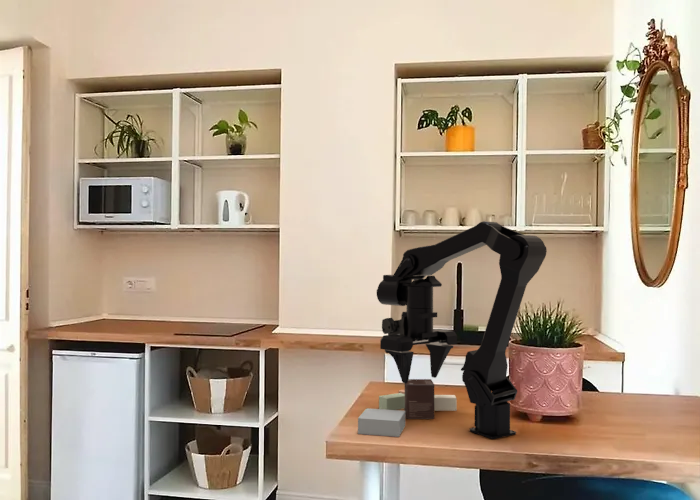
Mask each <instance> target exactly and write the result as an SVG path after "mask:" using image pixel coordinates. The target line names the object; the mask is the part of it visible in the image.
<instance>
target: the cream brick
mask: <svg viewBox="0 0 700 500" xmlns="http://www.w3.org/2000/svg"><path fill="white" fill-rule="evenodd" d="M457 400H458V399H457V397H456V395H455V394H434V412H435V411H438V412H439V411H442V412H446V411H447V412H448V411H449V412H450V411H451V412H452V411H453V412H454V411H455V412H457V410H458V409H457V407H458V406H457V403H458V402H457Z"/></svg>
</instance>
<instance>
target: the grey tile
mask: <svg viewBox="0 0 700 500" xmlns="http://www.w3.org/2000/svg"><path fill="white" fill-rule="evenodd" d="M405 427H406V415H405V410H401V409H399V410H385V409H379V408H368V407H367V408H366V409H364V411H363V412H362V413H361V414H360V415H359V416H358V418H357V434H358V435H368V436H369V435H370V436H382V437H394V438H395V437H396V438H400V436H401V434H402V433H403V430H404V429H405Z"/></svg>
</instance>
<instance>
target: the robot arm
mask: <svg viewBox="0 0 700 500" xmlns="http://www.w3.org/2000/svg"><path fill="white" fill-rule="evenodd" d="M484 246H487V247H488V248H489V249H490V250H492V251H493V252H495V253H496V254H499V260H498V261H499V262H498V265H499V272H500V276H501V278H500V282H499V285H498V288H497V292H496V295H495V297H494V301H493V305H492V308H491V311H490V314H489V318H488V321H487V323H486V327H485V330H484V334H483V337H482V339H481V343H480V345H479V347H478V349H475V350H469V351H467V352H466V355H465V357H464V358H465V359H464V363H463V366H461V369H460V371H462V375H461V379H462V382H463V384H464V386H465V388H466V392H467V396H468V399H469V403H471V404H475V405H474V427H471V428H469V432H471V433H474V434H476V435H479V436H482V437H485V438H488V439H490V440H496V439H499V438H504V437H509V436H515V435H516V434H517V431H515V430H512V429H511V403H510V402H509V401H515V399H516V398H517V397H516V396H517V393H518V389H517V388H516V386H515V384H513V383H512V381H510V379H509V378H508V376H507V373H508V372H507V371H508V362H507V354H506V352H507V347H508V344H509V341H510V338H511V335H512V333H513V328H514V326H515V323H516V319H517V316H518V313H519V310H520V307H521V304H522V300H523V297H524V295H525V292H526V288H527V286H528V285H529V284H528V283H530V281H531V280H532V279H533V278H534V276H535V275H536V274H537V273H538V272H539V270H540V268H541V266H542V265H543V262H544V261H545V258H546V255H547V253H548V252H547V250H548V249H547V246H546V245H545V243H544V240H542V239H541V237H539V236H536V235H531V234H529V235H527V234H523V233H521V232H519V231H515V230H513V229H510V228H508V227H505V226H504V225H501V224H500V223H498V222H496V221H486V220H485V221H480V222H479V223H477V224H476V225H475V226H472V227H470V228H468V229H465V230H463V231H462V232H459V233H457V234H455V235H452V236H450V237H448V238H447V239H444V240H442V241H440V242H437V243H435V244H430V245H426V246H419V247H413V248H409V249H407V250H405V252H404V253H403V254H402V259H401V261H400V262H399V264H398V267H396V270H395V271H394V273H393V274H384V275H382V280H381V281H380V283H379V284H378V286H377V289H376V297H377V298H376V299H377V300H378V302H379V303H380V304H381V305H385V306H387V305H388V306H399V307H405V308H406V311H402V313H401V315H400V317H401V318H400V319H396V320H395V319H394V318H393V317H387V318H383V319H382V320H381V321H382V322H381V330H382V333H383V334H384V335H383V336H382V337H381V338H380V339H379V341H380V343H379V344H380V347H379V348H380V350H384V352H385V353H386V354H389V355H390V356H391V357H392V358H393V360H394V362H395V364H396V367H397V370H398V372H399V373H398V374H399V377H400V380H401V382H402V383H403V384H405V383H407V382H408V379H409V378H410V373H411V369H412V368H411V367H412V363H413V357H414V351H411V350H412V349H413V347H414V346H417V345H423V344H425V346H426V348H427V350H428V351H429V360H430V361H429V362H430V363H429V365H430V374H431V378H432V379H433V378H434V379H436V378H437V377H438V375H439V373H440V371H441V368H442V366H443V364H444V362H445V361H446V358H447V356H448V355H449V353H450V351H451V350H452V349H453V348H454V345H457V344H458V335H457V333H456V332H455V331H454V330H450V329H441V328H438V329H434V318H438V312H437V311H434V288H438V287H442V286H443V285H442V282H441V281H440V280H439V279H437V278H436V277H435V275H434V274H436V273H437V272H438V271H440V270H441V269H442V268H443V269H444V266H445V265H446V264H447V263H448V262H450V261H451V260H454V259H456V258H458V257H461V256H464V255H466V254H468V253H470V252H473V251H475V250H477V249H480V248H482V247H484Z"/></svg>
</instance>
